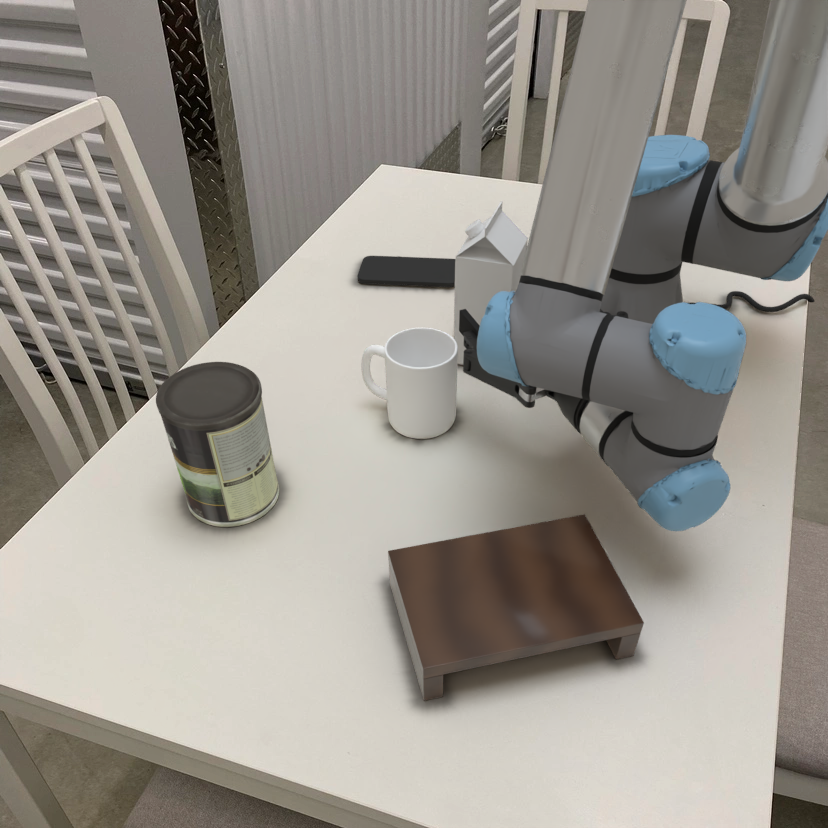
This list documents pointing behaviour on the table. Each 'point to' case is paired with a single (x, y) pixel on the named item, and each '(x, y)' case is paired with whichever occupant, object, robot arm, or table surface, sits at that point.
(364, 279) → the phone
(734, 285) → the table surface
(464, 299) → the milk carton
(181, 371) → the coffee can
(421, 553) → the shelf
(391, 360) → the cup
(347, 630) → the table surface
